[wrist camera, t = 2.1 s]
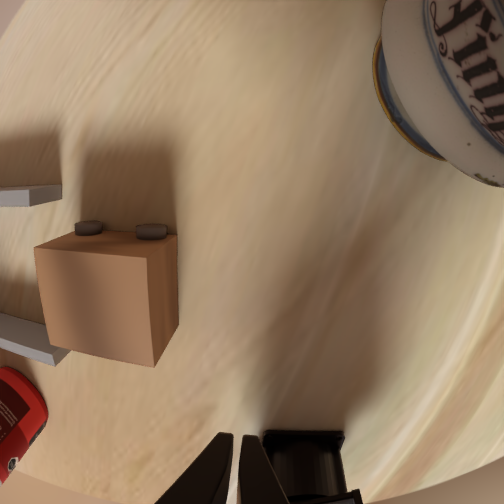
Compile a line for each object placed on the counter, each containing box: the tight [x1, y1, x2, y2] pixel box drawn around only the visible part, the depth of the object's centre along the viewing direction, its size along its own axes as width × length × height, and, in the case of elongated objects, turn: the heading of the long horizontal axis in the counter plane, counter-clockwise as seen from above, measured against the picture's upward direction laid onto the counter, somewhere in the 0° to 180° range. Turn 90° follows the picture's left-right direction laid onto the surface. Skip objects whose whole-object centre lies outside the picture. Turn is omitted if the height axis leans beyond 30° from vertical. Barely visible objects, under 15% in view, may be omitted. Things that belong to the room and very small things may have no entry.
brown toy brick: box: [34, 221, 179, 368], centre depth 17 cm, size 7×7×5 cm
